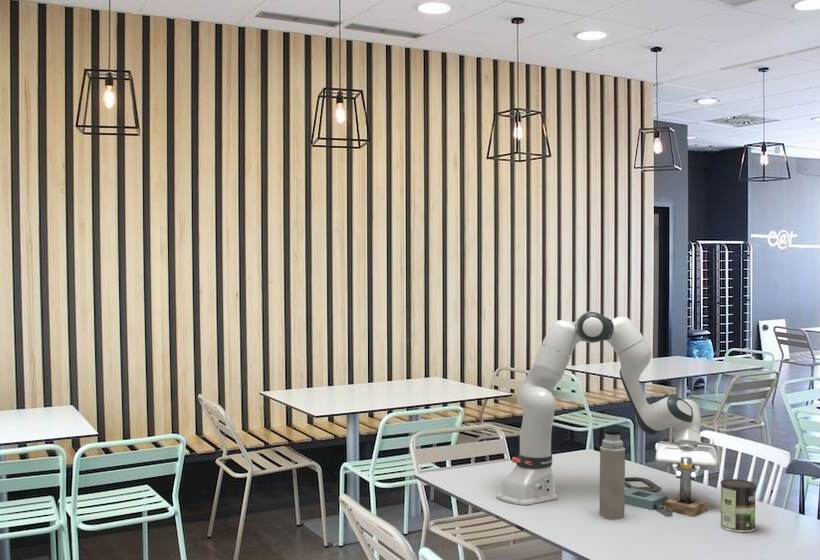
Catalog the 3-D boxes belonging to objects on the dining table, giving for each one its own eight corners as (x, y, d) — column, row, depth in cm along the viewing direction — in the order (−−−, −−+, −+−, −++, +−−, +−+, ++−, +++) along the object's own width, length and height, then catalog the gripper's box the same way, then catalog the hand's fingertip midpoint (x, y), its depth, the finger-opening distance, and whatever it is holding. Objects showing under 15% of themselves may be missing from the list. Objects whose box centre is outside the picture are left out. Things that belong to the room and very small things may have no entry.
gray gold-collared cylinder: (687, 508, 282) (688, 460, 281) (677, 505, 284) (678, 457, 284) (693, 505, 284) (694, 458, 284) (682, 503, 287) (683, 456, 286)
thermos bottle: (600, 510, 283) (601, 427, 283) (625, 513, 281) (626, 429, 280) (598, 517, 276) (598, 432, 275) (623, 520, 273) (624, 433, 273)
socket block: (692, 516, 277) (692, 507, 277) (664, 510, 284) (665, 501, 284) (707, 510, 284) (707, 501, 284) (679, 504, 291) (679, 495, 291)
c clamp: (667, 495, 304) (667, 488, 304) (619, 496, 303) (619, 488, 303) (649, 481, 324) (649, 473, 324) (604, 481, 324) (604, 473, 324)
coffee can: (758, 526, 268) (758, 481, 268) (751, 535, 259) (752, 489, 259) (723, 520, 274) (724, 477, 273) (716, 529, 265) (717, 484, 264)
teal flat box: (652, 510, 284) (652, 501, 284) (615, 501, 295) (615, 492, 294) (667, 504, 291) (667, 495, 291) (631, 495, 301) (631, 487, 301)
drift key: (672, 516, 278) (672, 510, 278) (666, 516, 277) (666, 511, 277) (659, 509, 286) (659, 503, 286) (654, 509, 285) (654, 504, 285)
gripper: (655, 435, 294) (653, 470, 285) (718, 440, 287) (718, 476, 278) (655, 445, 298) (653, 480, 289) (717, 450, 291) (717, 486, 282)
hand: (685, 478), depth 283 cm, fingers closed on gray gold-collared cylinder, 4 cm apart
